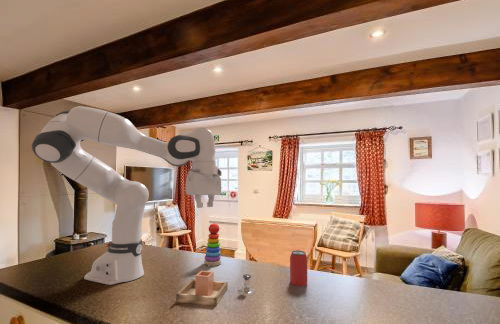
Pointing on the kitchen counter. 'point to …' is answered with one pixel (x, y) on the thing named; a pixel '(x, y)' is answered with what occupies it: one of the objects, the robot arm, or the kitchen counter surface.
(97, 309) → the kitchen counter surface
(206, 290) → the collar
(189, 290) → the tray
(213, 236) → the stacking toy
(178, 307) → the kitchen counter surface
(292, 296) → the kitchen counter surface
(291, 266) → the beer can
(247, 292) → the silver knob
